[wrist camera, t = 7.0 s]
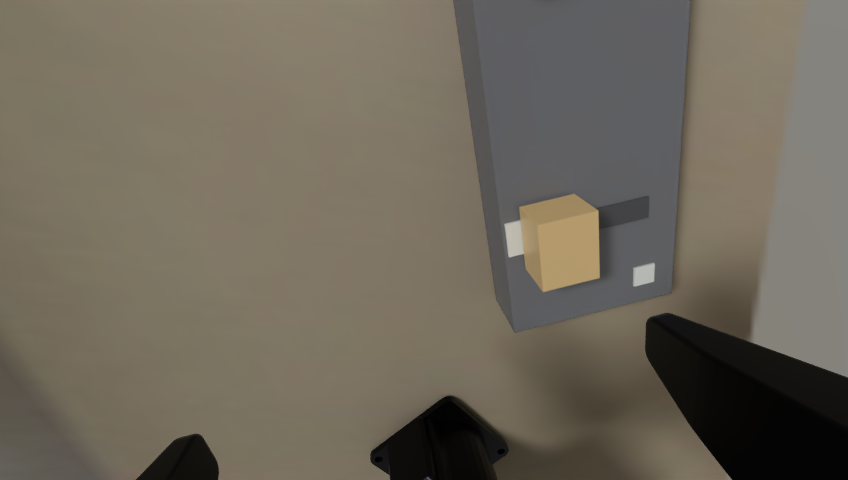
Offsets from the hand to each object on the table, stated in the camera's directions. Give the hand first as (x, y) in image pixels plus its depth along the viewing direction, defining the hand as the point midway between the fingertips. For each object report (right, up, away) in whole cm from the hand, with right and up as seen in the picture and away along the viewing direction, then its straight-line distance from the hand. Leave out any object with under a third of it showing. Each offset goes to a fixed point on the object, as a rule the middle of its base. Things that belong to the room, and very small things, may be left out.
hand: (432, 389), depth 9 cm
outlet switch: (+5, +3, +10) cm, 12 cm away
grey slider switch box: (+6, +10, +11) cm, 16 cm away
